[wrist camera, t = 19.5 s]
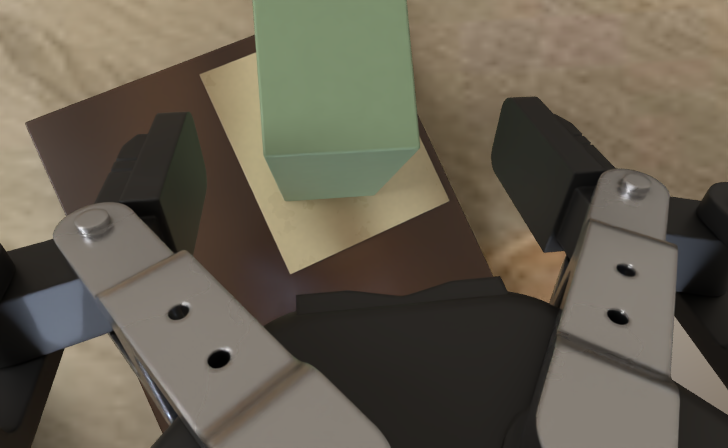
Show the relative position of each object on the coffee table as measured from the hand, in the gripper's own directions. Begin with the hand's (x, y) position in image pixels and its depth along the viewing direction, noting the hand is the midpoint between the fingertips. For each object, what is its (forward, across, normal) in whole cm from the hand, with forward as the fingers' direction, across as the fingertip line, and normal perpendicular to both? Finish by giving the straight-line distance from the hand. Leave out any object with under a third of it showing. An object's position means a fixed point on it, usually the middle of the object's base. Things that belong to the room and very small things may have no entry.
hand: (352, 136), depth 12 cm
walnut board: (+9, +3, +10) cm, 13 cm away
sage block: (+10, 0, +6) cm, 12 cm away
